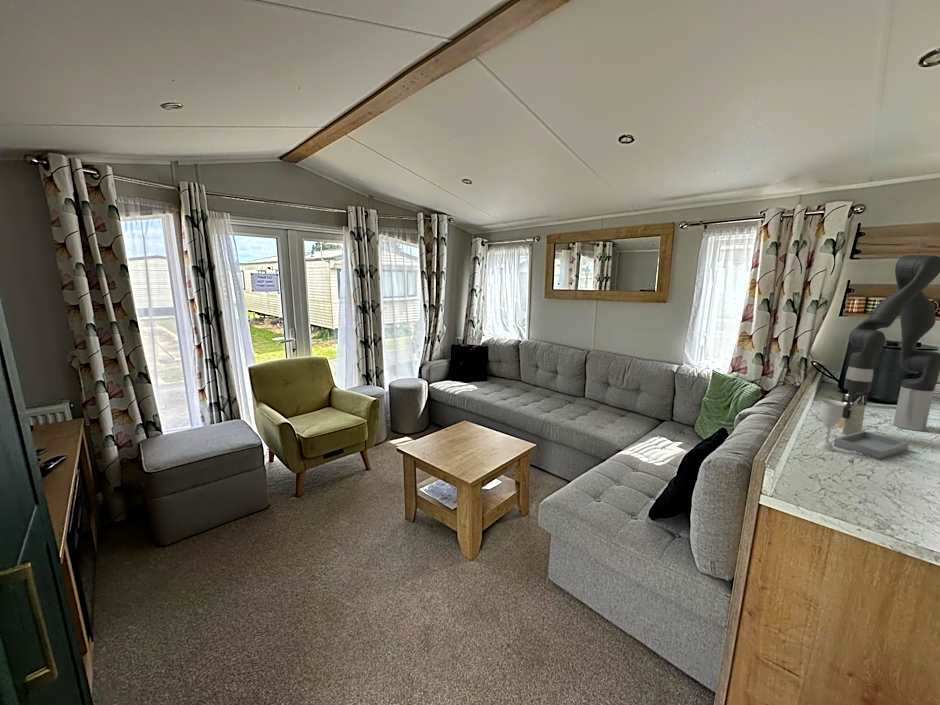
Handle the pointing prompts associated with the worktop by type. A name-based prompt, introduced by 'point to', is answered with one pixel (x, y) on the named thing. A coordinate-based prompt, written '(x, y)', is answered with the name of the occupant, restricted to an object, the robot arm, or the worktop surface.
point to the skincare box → (852, 421)
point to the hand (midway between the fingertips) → (851, 417)
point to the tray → (871, 444)
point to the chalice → (830, 420)
